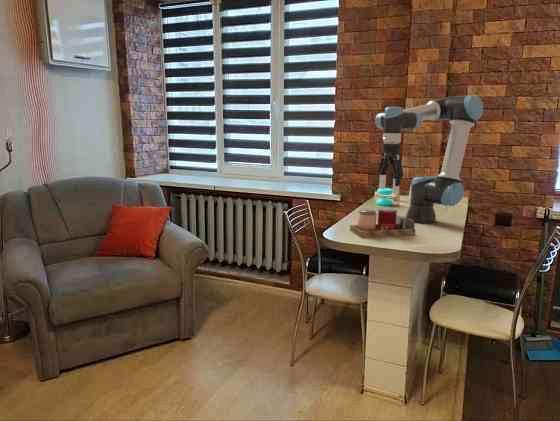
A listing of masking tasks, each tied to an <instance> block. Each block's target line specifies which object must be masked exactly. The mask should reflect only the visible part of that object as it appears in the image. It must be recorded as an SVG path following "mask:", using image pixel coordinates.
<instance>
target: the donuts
mask: <svg viewBox="0 0 560 421" xmlns="http://www.w3.org/2000/svg"><path fill="white" fill-rule="evenodd" d="M376 191H377V194H378V195H381V196H390V195H393V188H386V187H385V189H379V188H377V190H376ZM376 204H377V205H378V206H383V207H384V206H385V207H388V206H392V205H393V200H392V199H390V198H384V197H381V198H378V199H377V200H376Z"/></svg>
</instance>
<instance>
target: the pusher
mask: <svg viewBox="0 0 560 421" xmlns="http://www.w3.org/2000/svg"><path fill="white" fill-rule="evenodd" d="M402 217H403V216H400V215H398V214H397V215H396V229H395V230H397V229H405V226H407V223H406V219H405V218H402Z"/></svg>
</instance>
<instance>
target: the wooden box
mask: <svg viewBox="0 0 560 421" xmlns="http://www.w3.org/2000/svg"><path fill="white" fill-rule="evenodd" d="M401 217H402V218H405V219H406V223H407V226H405V229H397V230H377V227H378V223H376V230H369V231H361V230H360V229H358V224H350V225H349V232H351V233H353V234H354V235H356V236H358V237H359V238H369V237H370V238H372V237H376V238H377V237H393V236H395V237H396V236H397V237H398V236H400V237H401V236H416V229H415V225H416V222H415V221H413V220H411V219H408V218H406V216H401Z"/></svg>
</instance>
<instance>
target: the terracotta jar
mask: <svg viewBox="0 0 560 421" xmlns="http://www.w3.org/2000/svg"><path fill="white" fill-rule="evenodd" d="M377 217H378V213H377V211H376V210H374V209H366V208H365V209H359V211H358V216H357V225H358V229H360V230H361V231H369V230H376V224H377Z"/></svg>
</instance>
